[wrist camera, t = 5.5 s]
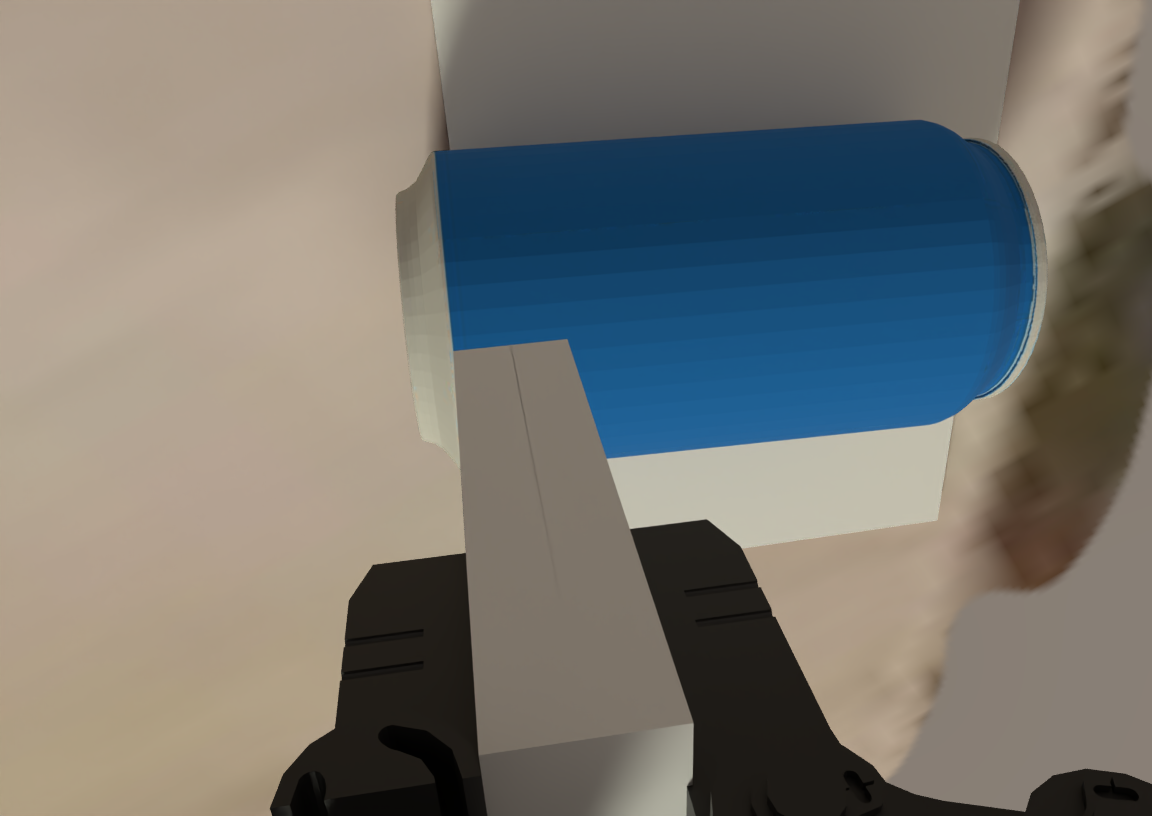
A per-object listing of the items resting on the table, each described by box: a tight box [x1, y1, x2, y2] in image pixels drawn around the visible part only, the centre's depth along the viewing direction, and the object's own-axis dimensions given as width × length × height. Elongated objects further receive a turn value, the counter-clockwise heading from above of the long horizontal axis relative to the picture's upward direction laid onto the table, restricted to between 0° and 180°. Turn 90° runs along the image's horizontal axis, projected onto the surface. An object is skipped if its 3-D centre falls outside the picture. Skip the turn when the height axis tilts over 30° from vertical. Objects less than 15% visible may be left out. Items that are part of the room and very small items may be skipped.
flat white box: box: [431, 0, 1020, 548], centre depth 22 cm, size 22×13×1 cm, turn 3°
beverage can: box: [396, 120, 1048, 470], centre depth 19 cm, size 6×6×12 cm
